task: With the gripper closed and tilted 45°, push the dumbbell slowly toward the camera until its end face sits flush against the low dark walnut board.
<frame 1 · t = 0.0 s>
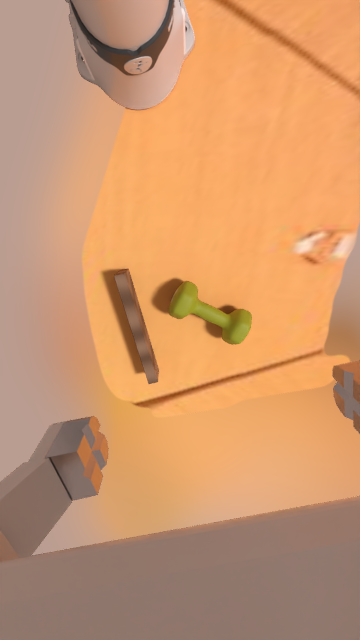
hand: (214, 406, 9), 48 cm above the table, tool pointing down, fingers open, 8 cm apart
walnut board: (140, 323, 60), on the table
dumbbell: (207, 307, 59), on the table
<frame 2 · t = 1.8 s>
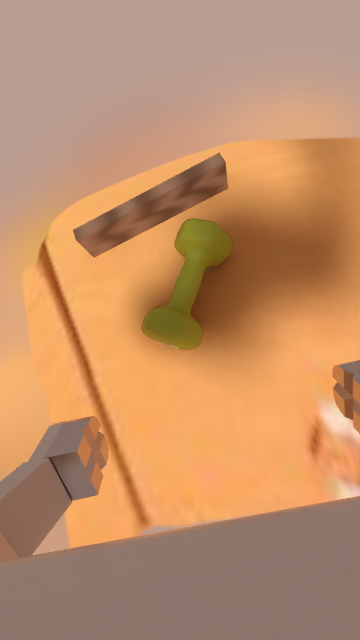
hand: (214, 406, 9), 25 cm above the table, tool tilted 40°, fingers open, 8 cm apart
walnut board: (157, 219, 44), on the table
dumbbell: (193, 296, 39), on the table
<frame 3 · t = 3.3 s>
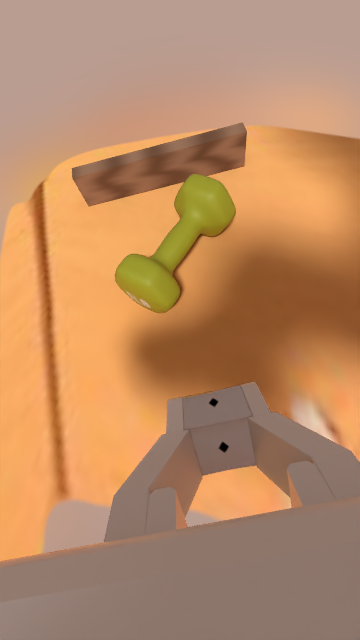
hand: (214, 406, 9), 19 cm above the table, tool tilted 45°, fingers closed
walnut board: (164, 181, 42), on the table
dumbbell: (181, 263, 36), on the table
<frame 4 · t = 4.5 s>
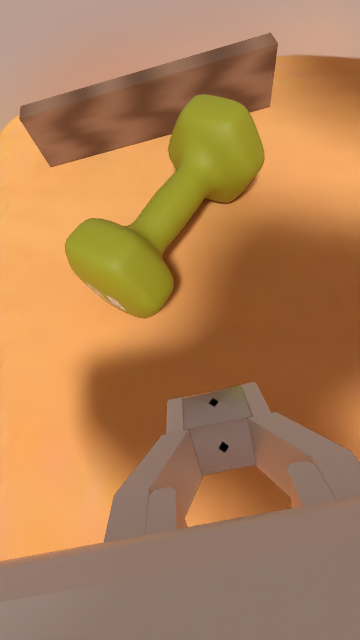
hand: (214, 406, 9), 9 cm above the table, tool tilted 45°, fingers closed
walnut board: (155, 131, 30), on the table
dumbbell: (179, 242, 24), on the table
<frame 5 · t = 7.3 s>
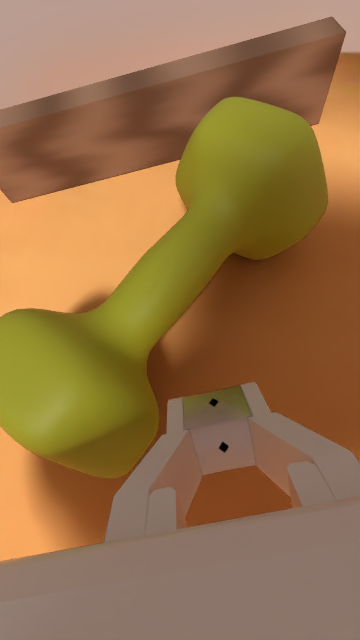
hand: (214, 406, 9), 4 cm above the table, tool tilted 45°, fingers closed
walnut board: (158, 155, 21), on the table
dumbbell: (181, 312, 16), on the table, touching gripper
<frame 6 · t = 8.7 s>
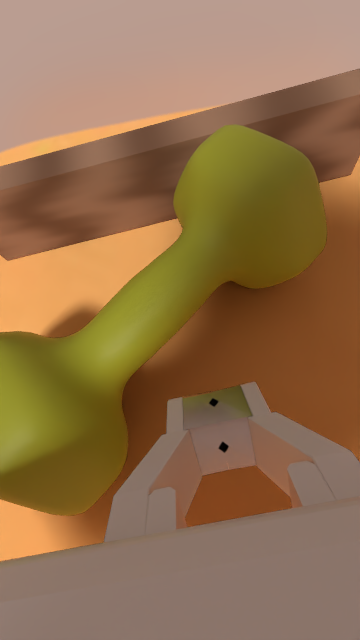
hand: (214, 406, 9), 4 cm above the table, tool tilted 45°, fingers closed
walnut board: (170, 208, 19), on the table
dumbbell: (169, 335, 16), on the table
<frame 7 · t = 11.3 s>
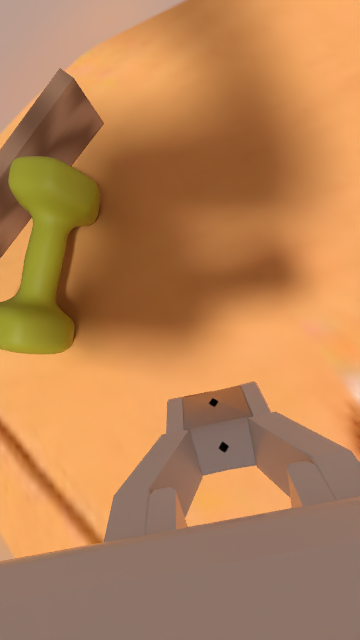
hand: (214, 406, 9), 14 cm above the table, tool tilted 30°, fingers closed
walnut board: (28, 208, 30), on the table
dumbbell: (71, 272, 28), on the table
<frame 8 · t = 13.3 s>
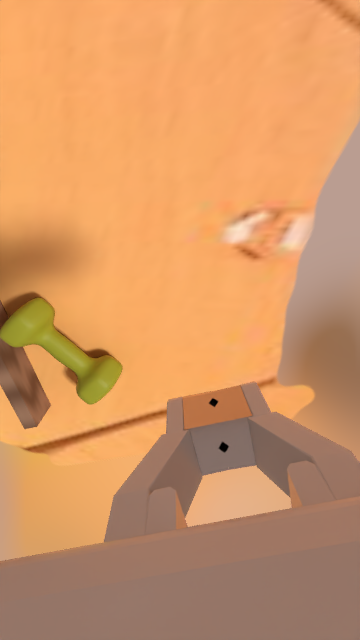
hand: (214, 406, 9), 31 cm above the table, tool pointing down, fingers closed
walnut board: (14, 343, 42), on the table
dumbbell: (74, 340, 43), on the table
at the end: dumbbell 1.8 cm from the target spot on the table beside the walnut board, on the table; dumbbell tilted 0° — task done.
